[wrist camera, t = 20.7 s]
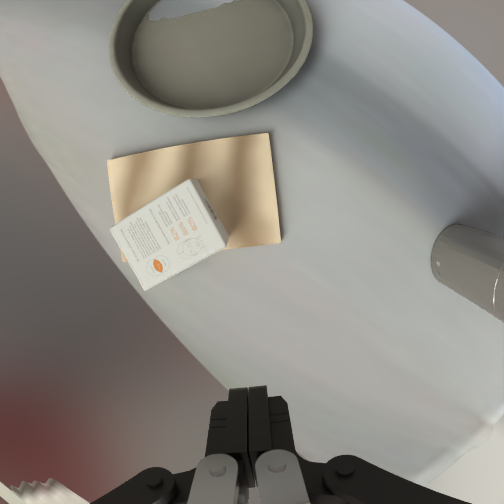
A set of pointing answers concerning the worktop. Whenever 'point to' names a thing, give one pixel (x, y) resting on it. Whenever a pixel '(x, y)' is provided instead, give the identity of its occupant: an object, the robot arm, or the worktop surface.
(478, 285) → the robot arm
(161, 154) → the maple board
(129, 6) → the cake pan
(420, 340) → the worktop surface
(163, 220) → the small box
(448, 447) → the worktop surface
